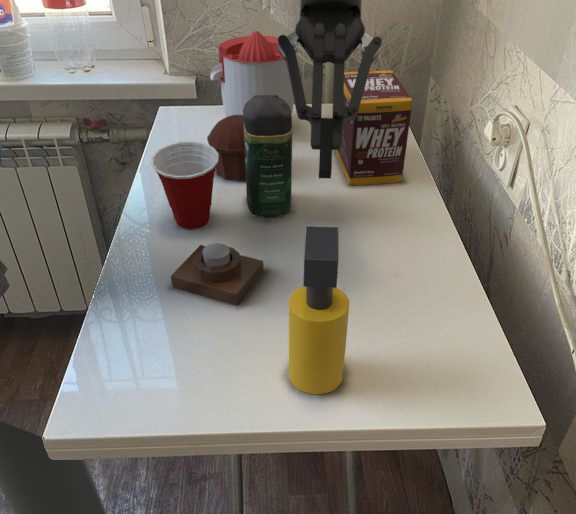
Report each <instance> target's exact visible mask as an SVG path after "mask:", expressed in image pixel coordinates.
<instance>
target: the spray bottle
mask: <svg viewBox="0 0 576 514" xmlns="http://www.w3.org/2000/svg"><path fill="white" fill-rule="evenodd" d="M303 255H304V256H303V285H302V286H301V287H298V288H297V289H295V290H294V291H293V292H292V293H291V294H290V296H289V299H288V378H289V381H290V383H291V384H292V386H293V387H294V388H296V389H297V390H298V391H301V392H302V393H306V394H309V395H325V394H328V393H331V392H333V391H334V390H336V389H337V388H339V386H340V385H341V384H342V381H343V379H344V369H345V358H346V346H347V335H348V323H349V314H350V299H349V297H348V295H347V294H346V293H345V291H344V290H342V289H340V288H339V287H337V286H338V275H339V273H338V272H339V227H338V226H313V225H312V226H311V225H310V226H309V225H307V226H305V240H304V253H303Z"/></svg>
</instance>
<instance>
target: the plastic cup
mask: <svg viewBox="0 0 576 514" xmlns="http://www.w3.org/2000/svg"><path fill="white" fill-rule="evenodd" d="M217 163H218V153H217V151H216V150H215V149H214V148H213V147H211V146H210V145H209V144H207V143H205V142H199V141H194V140H189V141H188V140H187V141H179V142H178V141H177V142H173V143H169V144H166V145H165V146H163V147H161V148H158V149H157V150H156V151H155V152H154V154H152V156H151V159H150V165H151V167H152V168H153V170H154V171H155V173H156V174H157V175H158V178H159V180H160V182H161V185H162V188H163V190H164V194H165V197H166V199H167V202H168V205H169V207H170V209H171V212H172V215H173V219H174V221H175V222H176V224H177V226H178V227H179V228H181V229H185V230H199V229H202V228H204V227H205V226H207V225H208V224H209V223H210V218H211V206H212V200H213V191H214V190H213V189H214V178H215V172H216V168H215V167H216V165H217Z"/></svg>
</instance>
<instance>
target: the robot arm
mask: <svg viewBox="0 0 576 514" xmlns="http://www.w3.org/2000/svg"><path fill="white" fill-rule="evenodd" d="M362 2H363V1H362V0H300V7H299V9H300V10H299V19H298V22H297V23H296V24H295V29H294V30H295V31H293V32H291V33H290V34H288V35H285V34H280V35H279V36H278V46H279V52H280V54H281V56H282V57H283V59H284V60H285V62H286V63H287V68H288V73H289V78H290V83H291V88H292V92H293V97H294V106H295V112H296V115H297V118H298V120H300V121H307V122H309V124H310V147H311V150H319V157H318V158H319V159H318V160H319V161H318V179H332V170H333V169H332V166H333V151H335V150H340V148H341V145H342V125H343V124H344V123H345V122H347V121H354V120H355V119H356V117H357V114H358V110H359V107H360V103H361V99H362V96H363V92H364V89H365V85H366V81H367V78H368V74H369V71H371V67H372V65H373V63H374V62H375V61H376V59H377V58H378V56H379V55H380V53H381V49H382V43H383V39H382V38H381V37H380V36H374V37H372V36H371V35H370V34H368V33H367V32H365V30H366V27H365V24H364V23H363V21H362ZM298 44H300V45H301V47H302V48H303V50H304V51H305V53H306V54H307V55H308V57H309V58H310V60H311V61H313V63H312V64H313V66H312V90H311V91H312V92H311V106H309V105H307V101H306V96H305V91H304V86H303V81H302V76H301V72H300V66H299V62H298V58H297V57H298V56H297V54H298V52H299V45H298ZM359 45H361V46H360V54H361V56H362V57H361V60H360V64H359V68H358V70H357V72H358V74H357V77H356V81H355V85H354V88H353V92H352V95H351V99H350V102H349V106H348V107H345V108H343V97H344V72H345V63H346V61H347V60H348V59H349V58H350V56H351V55H353V52H354V51H355V50H356V49H357V48H358V46H359ZM326 63H330V64H333V85H332V86H333V87H332V117H322V110H323V109H322V107H323V105H322V104H323V85H324V83H323V81H324V64H326ZM2 156H3V146H2V140H1V139H0V165H1V164H2V158H3V157H2ZM8 269H9V268H8V267H7V266H6V265H5V264H4V263H3V262H2V260H0V298H1V297H3V295H5V293H7V291H8V289H9V288H10V283H9V281H8V279H7V277H6V275H5V274H6V273H7V271H8Z"/></svg>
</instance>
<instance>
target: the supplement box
mask: <svg viewBox="0 0 576 514" xmlns="http://www.w3.org/2000/svg"><path fill="white" fill-rule="evenodd" d="M357 74H358V71H344V97H343V108H345V107H348V106H349V102H350V99H351V95H352V92H353V88H354V85H355V81H356V77H357ZM413 101H414V100H413V99H412V97H411V96H410V94H409V93H408V92H407V90H406V89H405V88H404V85H403V83H401V82H400V80H399V79H398V77H397V76H396V75H395V73H394V71H393V70H370V71H369V74H368V78H367V81H366V85H365V89H364V92H363V96H362V99H361V103H360V107H359V110H358V114H357V117H356V119H355V120H354V121H347V122H345V123H344V124H343V125H342V145H341V148H340V150H334V153H335V155H336V158H337V160H338V163H339V166H340V167H341V170H342V173H343V175H344V177H345V180H346V183H347V185H348V186H361V185H362V186H364V185H377V184H379V185H380V184H394V183H402V181H403V174H404V166H405V160H406V152H407V145H408V136H409V132H410V131H409V130H410V123H411V122H410V121H411V115H412V107H413Z"/></svg>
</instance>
